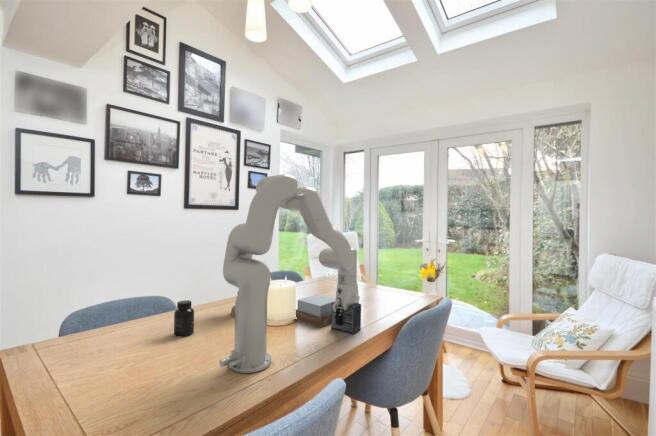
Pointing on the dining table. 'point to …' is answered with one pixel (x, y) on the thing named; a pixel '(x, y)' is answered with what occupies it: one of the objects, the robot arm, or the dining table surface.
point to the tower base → (314, 319)
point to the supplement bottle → (184, 319)
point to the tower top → (316, 305)
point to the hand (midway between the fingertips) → (346, 321)
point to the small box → (348, 319)
